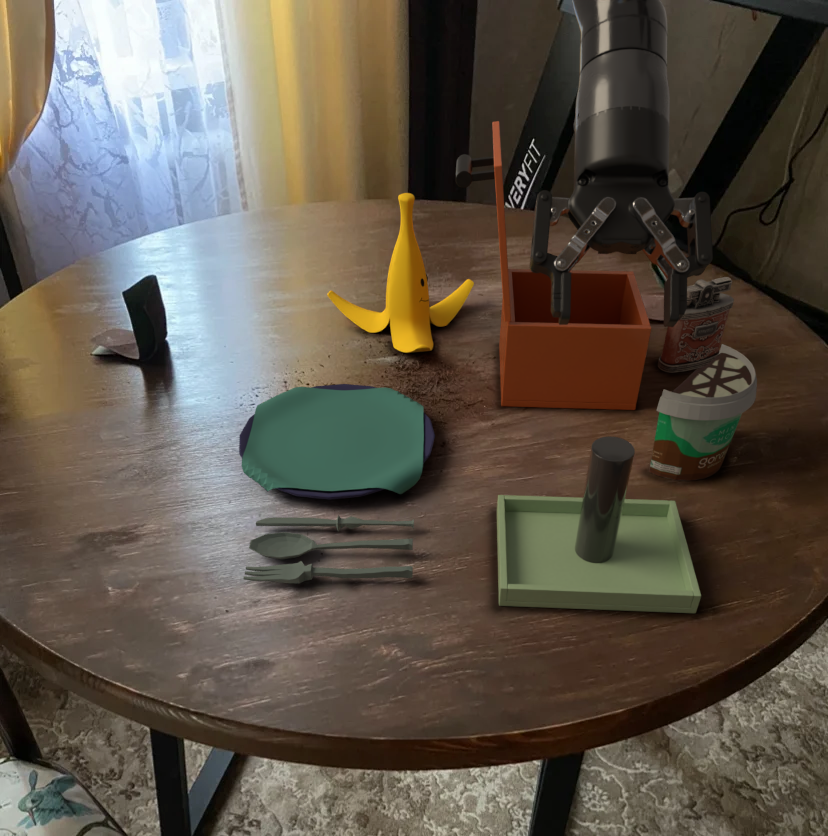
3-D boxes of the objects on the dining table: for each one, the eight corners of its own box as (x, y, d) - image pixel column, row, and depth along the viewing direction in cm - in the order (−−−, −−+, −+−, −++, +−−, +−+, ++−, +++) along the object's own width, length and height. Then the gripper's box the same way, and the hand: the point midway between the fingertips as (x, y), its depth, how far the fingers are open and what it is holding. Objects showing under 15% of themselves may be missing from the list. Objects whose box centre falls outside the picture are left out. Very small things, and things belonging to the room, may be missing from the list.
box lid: (499, 120, 86) (455, 126, 86) (501, 165, 75) (452, 171, 76) (507, 264, 96) (468, 268, 96) (511, 321, 85) (467, 325, 86)
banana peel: (474, 303, 111) (480, 172, 100) (426, 374, 97) (427, 232, 86) (359, 285, 115) (352, 157, 104) (298, 350, 102) (283, 212, 91)
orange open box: (619, 348, 102) (633, 271, 95) (635, 410, 92) (651, 328, 85) (499, 345, 102) (504, 268, 96) (501, 406, 92) (507, 325, 86)
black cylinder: (611, 537, 75) (631, 436, 68) (615, 564, 73) (637, 462, 65) (573, 536, 75) (589, 435, 68) (576, 562, 73) (593, 460, 65)
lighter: (669, 375, 97) (687, 294, 90) (651, 362, 99) (668, 282, 93) (724, 361, 99) (746, 281, 93) (706, 348, 102) (726, 269, 95)
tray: (670, 517, 78) (675, 500, 77) (695, 613, 69) (701, 595, 68) (496, 511, 79) (497, 494, 77) (498, 606, 70) (500, 588, 68)
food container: (697, 505, 79) (723, 417, 73) (640, 479, 82) (660, 391, 76) (756, 449, 86) (784, 363, 79) (701, 426, 89) (724, 341, 83)
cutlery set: (434, 398, 94) (434, 380, 92) (435, 590, 71) (436, 570, 70) (257, 397, 94) (254, 380, 92) (202, 588, 71) (197, 568, 70)
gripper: (538, 102, 65) (533, 306, 64) (724, 102, 64) (722, 309, 64) (530, 152, 73) (525, 335, 72) (696, 152, 72) (694, 338, 71)
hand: (617, 323), depth 68 cm, fingers open, 8 cm apart
